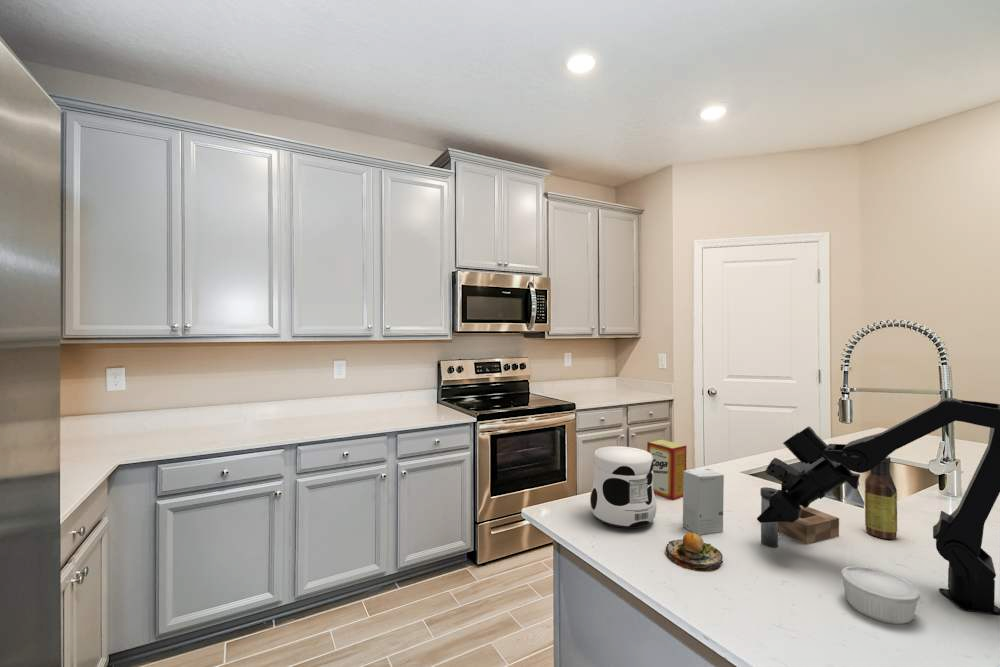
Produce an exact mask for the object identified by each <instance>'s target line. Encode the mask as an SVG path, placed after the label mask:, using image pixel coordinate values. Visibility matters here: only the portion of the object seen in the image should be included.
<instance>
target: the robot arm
mask: <svg viewBox="0 0 1000 667" xmlns="http://www.w3.org/2000/svg"><path fill="white" fill-rule="evenodd" d="M954 422H961V423H962V422H963V423H966V424H967V423H968V424H972V425H976V426H981V427H984V428H989V436H988V444H987V446H986V448H985V449H984V452H983V454H982V456H981V459H980V461H979V463H978V465H977V467H976V468H975V471H974V473H973V475H972V476H971V479H970V482H969V484H968V486H967V488H966V490H965V491H964V494H963V496H962V497H961V500H960V502H959V505H958V506H957V508H956V509H955V510H954V511H953V512H952V513H951V514H949V513H947V512H945V511H943V510H941V511H940V514H939V519H938V522H937V523H936V524H934V525H933V527H932V538H933V540H935V547H936V551H937V552H938V554H939V555H940V557H942V558H943V559H944V560H945V561H947V562H948V568H947V570H948V572H947V576H948V577H947V588H939V589H938V592H939V593H941V594H942V595H944V596H945V597H946V598H947V599H948V600H950V601H951V602H952V603H953V604H955V605H956V606H957V607H959V608H960V609H962V610H964V611H966V612H967V611H969V612H975V613H976V612H977V613H983V614H994V615H1000V607H999V606H997V605H996V604H995V599H996V598H995V593H996V590H995V586H996V585H995V584H996V580H995V579H996V576H997V573H996V570H995V565H994V562H993V559H992V556H991V555H990V554H989V553H988V552H986V550H984V549H983V548H982V544H983V537H984V528H985V523H986V521H987V519H988V517H989V515H990V513H991V511H992V510H993V506H994V505H995V503H996V501H997V499H998V497H999V495H1000V403H994V402H993V403H992V402H986V401H976V400H964V399H959V398H955V397H945V398H942V399H941V400H939V401H938V402H937V403H935V404H933V405H932V406H930V407H927V409H924V410H922V411H921V412H918V413H916V414H915V415H912V416H911V417H909V418H907V419H905V420H903V421H901V422H900V423H898V424H895V425H894V426H892V427H890V428H887V429H886V430H883V431H882V432H879V433H876V434H871V435H868V436H864V437H861V438H857V439H855V440H852V441H850V442H847V443H846V444H845V443H843V444H842V443H829V444H827V443H826V442H825V441H824V440H823V439H822V438H821V437H820V436H818V434H817V433H816V432H815V430H813V428H812V427H811V426H807V427H805V428H804V429H802V430H801V431H798V432H796V433H795V434H793V435H792V436H791V437H789V438H787V439H786V440H785V441H784V442H782V444H783V445H784V446H785V447H786V449H788V450H789V451H790V452H791V454H793V456H795V457H796V458H797V460H799V462H800V463H802V464H803V463H804V464H805V465H807V464H809V465H812V464H814V463H816V462H817V461H819V460H820V459H821V458H823V460H821V461H820V462H818V463H817V464H815V465H814V466H812V467H810V468H808V469H802V470H800V471H798V470H797V469H796V468H795V467H793V466H792V465H790V464H788V463H787V462H784V461H783V460H781V459H779V458H777V457H773V459H772V460H770V462H769V464H768V465H767V466H766V469H765V473H766V474H767V475H768V476H772V477H773V478H774V479H776V480H778V481H780V482H781V488H780V489H777V490H778V491H776V492H775V493H773V494H772V495H771V496H770V497H769V507H768V508H767V509H766V510H765V511H764V512H763V513H762V514H761V513H760V514H759V515H758V517H757V518H756V520H757V521H758V522H759V523H760V524H761V523H765V522H791V523H792V522H794V521H796V520H797V519H799V517H800V516H801V514H802V508H801V507H800V506H801V505H802V506H803V507H804V508H806V507H810V505H811V503H813V502H815V501H817V500H818V499H820V500H822V499H823V498H824V497H825V496H826V494H828V493H830V492H832V491H834V490H835V489H837V488H839V487H840V486H842V485H844V484H846V483H848V484H849V485H850V487H852V488H853V489H854V490H857V489H858V488H859V487H860V486H859V485H860V482H859V481H860V477H861V475H860V474H863V473H864V474H865V473H867V472H869V471H870V470H871V469H872V468H873V467H875V466H876V465H877V464H879V463H880V462H881V461H882V460H884V459H885V458H886V457H887V456H890V455H892V453H893V452H895V451H896V450H898V449H901V448H903V447H904V446H906V445H908V444H911V443H913V442H915V441H917V440H918V439H921V438H922V437H925V436H927V435H929V434H931V433H933V432H935V431H937V430H939V429H941V428H943V427H946V426H947V425H950V424H951V423H954Z"/></svg>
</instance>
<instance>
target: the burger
mask: <svg viewBox="0 0 1000 667" xmlns="http://www.w3.org/2000/svg"><path fill="white" fill-rule="evenodd" d="M665 555H666V558H668V559H669V560H671V561H674V562H675V564H676V565H677V566H679V567H682V568H683V567H685V568H686V569H688V570H692V571H693V570H694V571H696V572H703V573H704V572H715V571H717V570H719V569H720V568H721V565H722V564H724V561H723V554H722V552H721V551H720V550H719V549H718V548H716V547H715V546H713V545H712V544H711V543H707V542H706V543H705V541H704V539H703V537H702V536H701V535H697V534H695V533H693V532H687V533H685V534H683V537H682V539H674V540H673V539H672V540H670V541H668V543H666V546H665Z"/></svg>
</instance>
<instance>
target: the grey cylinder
mask: <svg viewBox="0 0 1000 667" xmlns="http://www.w3.org/2000/svg"><path fill="white" fill-rule="evenodd" d="M778 490H779V489H776V488H773V487H766V486H764V487H760V493H759V494H760V496H761V497H760V498H761V504H760V509H761V510H760V515H761V514H762V513H763V512H764V511H765V510H766V509H767V508H768V507H769V497H770V496H771V495H772V494H773V493H775V492H776V491H778ZM760 543H761V545H763V546H765V547H767V548H772V549H773V548H774V549H775V548H778V547H779V532H778V522H765V523H760Z"/></svg>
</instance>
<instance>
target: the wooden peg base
mask: <svg viewBox="0 0 1000 667" xmlns="http://www.w3.org/2000/svg"><path fill="white" fill-rule="evenodd" d="M800 507H801V508H802V514H801V516H800V517H799V519H797V520H796V521H794V522H792V523H791V522H778V534H782V535H784V536H786V537H789V538H791V539H793V540H794V541H797V542H800V543H802V544H804V545H805V546H807V545H810V544H814V543H818V542H822V541H825V539H826V540H830V539H833V537H834V538H837V537H839V536H840V518H839V517H837V516H834V515H831V514H829V513H826V512H824V511H821V510H818V509H816V508H812V507H810V506H808V507H806V508H804V507H803V506H802V505H801V506H800ZM836 536H837V537H836ZM829 538H830V539H829Z"/></svg>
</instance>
